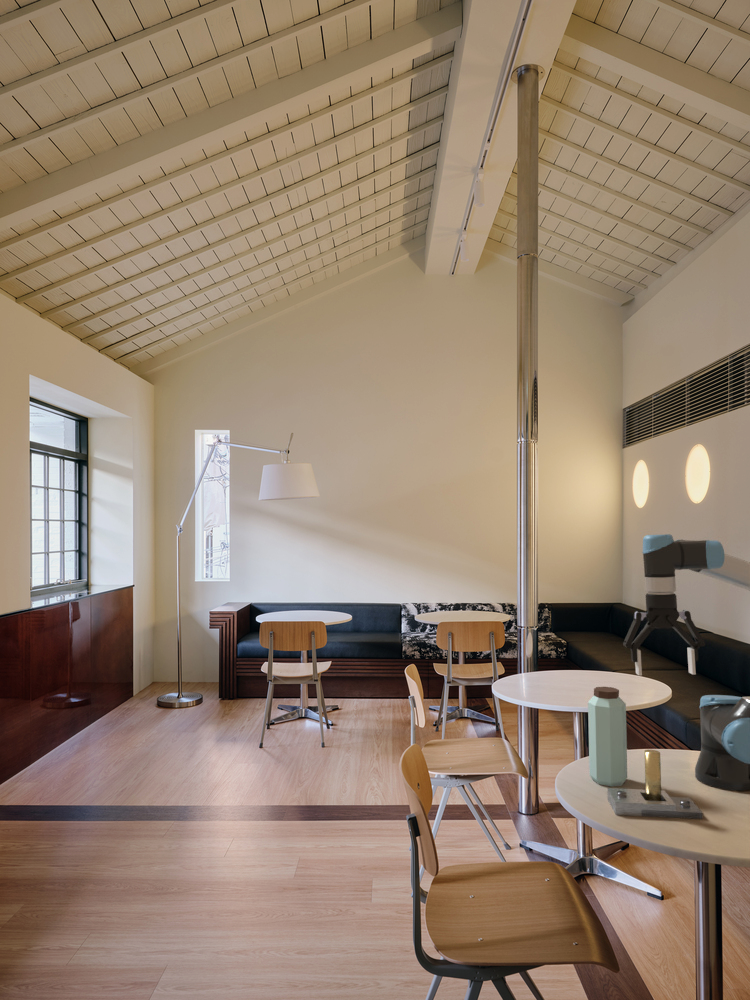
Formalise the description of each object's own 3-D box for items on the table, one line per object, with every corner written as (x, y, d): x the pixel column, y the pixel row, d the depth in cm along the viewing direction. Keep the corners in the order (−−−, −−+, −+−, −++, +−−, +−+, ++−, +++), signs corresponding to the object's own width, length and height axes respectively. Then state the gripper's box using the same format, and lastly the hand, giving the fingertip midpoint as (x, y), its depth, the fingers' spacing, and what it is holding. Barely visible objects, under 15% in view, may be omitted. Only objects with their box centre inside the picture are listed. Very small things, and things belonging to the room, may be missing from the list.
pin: (659, 806, 164) (657, 749, 165) (663, 812, 161) (662, 754, 162) (644, 806, 165) (642, 749, 166) (648, 812, 161) (646, 754, 162)
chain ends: (689, 803, 166) (689, 788, 166) (702, 819, 157) (702, 803, 157) (607, 799, 169) (607, 785, 169) (615, 814, 160) (615, 799, 160)
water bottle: (630, 789, 176) (628, 694, 177) (591, 786, 178) (589, 692, 179) (624, 775, 186) (622, 686, 187) (587, 773, 188) (585, 684, 189)
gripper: (703, 590, 176) (708, 670, 175) (608, 592, 178) (612, 671, 177) (715, 592, 169) (721, 676, 168) (616, 595, 171) (620, 678, 170)
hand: (665, 674), depth 172 cm, fingers open, 13 cm apart
